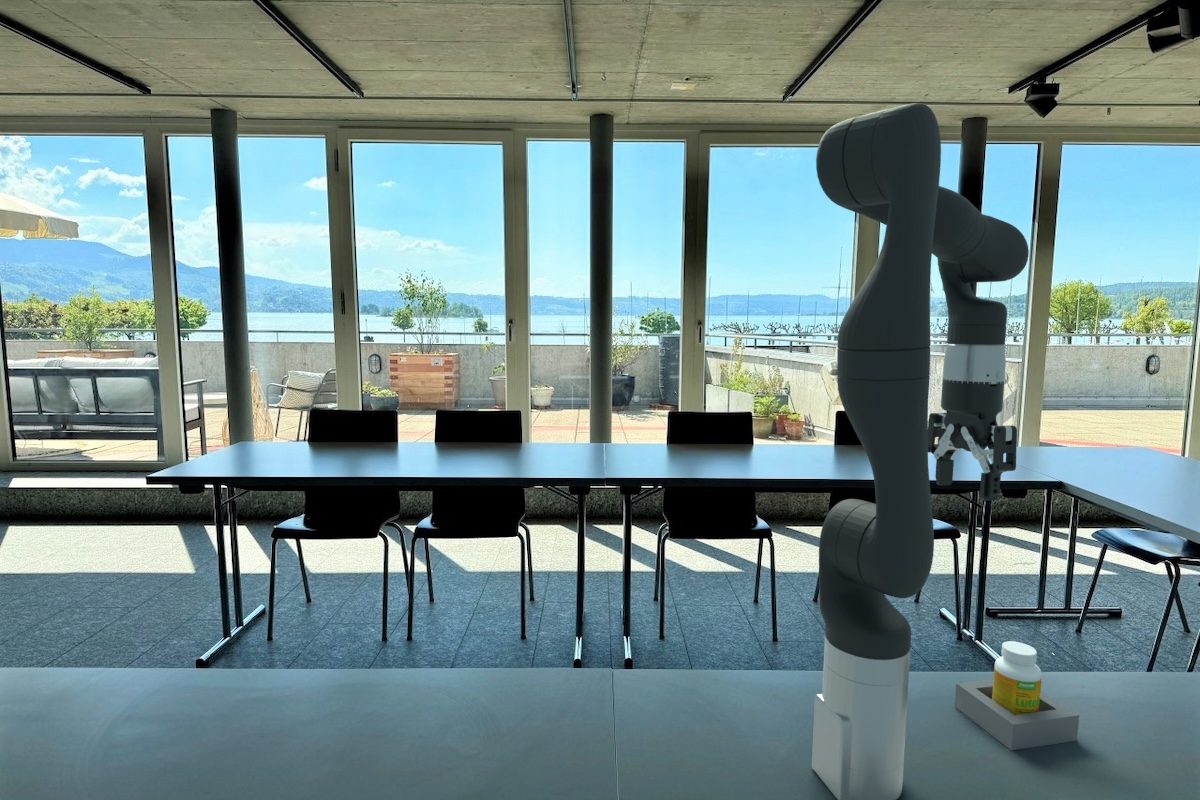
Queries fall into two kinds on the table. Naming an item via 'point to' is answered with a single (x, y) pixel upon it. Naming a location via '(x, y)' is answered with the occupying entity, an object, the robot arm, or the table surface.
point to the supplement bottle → (1017, 679)
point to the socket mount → (1016, 718)
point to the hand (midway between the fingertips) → (965, 492)
